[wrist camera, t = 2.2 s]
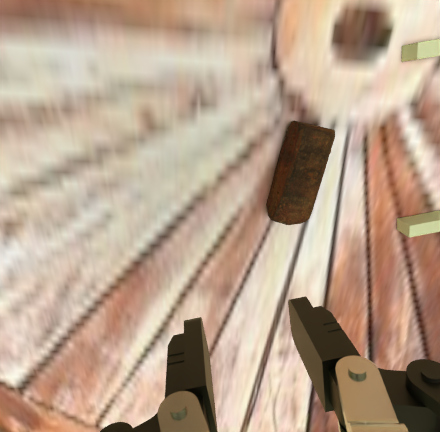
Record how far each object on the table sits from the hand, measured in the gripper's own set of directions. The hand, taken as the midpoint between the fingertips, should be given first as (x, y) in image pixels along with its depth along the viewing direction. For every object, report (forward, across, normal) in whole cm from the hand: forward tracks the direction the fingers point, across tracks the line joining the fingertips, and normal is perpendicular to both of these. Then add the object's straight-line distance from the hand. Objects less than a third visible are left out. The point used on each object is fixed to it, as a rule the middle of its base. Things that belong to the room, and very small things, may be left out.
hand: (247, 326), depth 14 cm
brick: (+26, -10, 0) cm, 27 cm away
